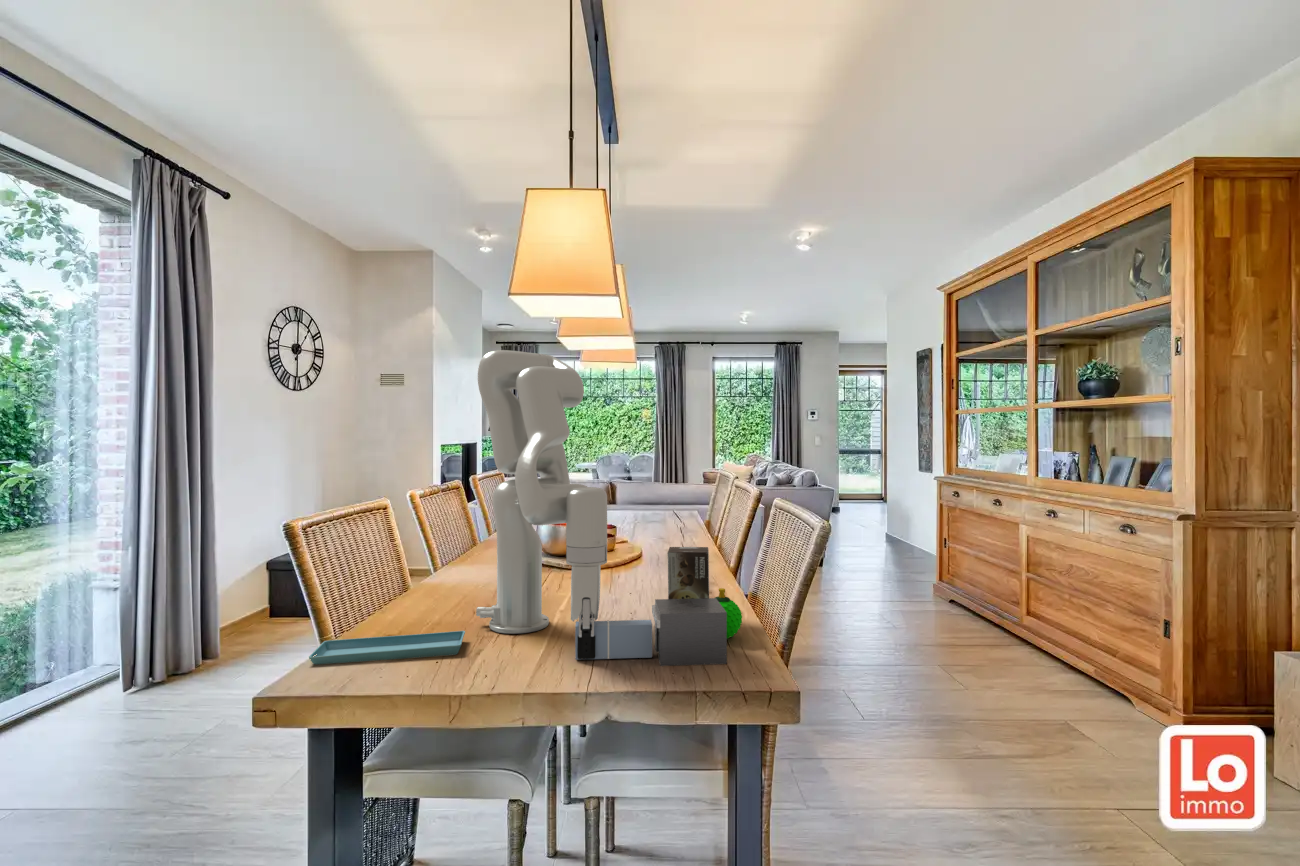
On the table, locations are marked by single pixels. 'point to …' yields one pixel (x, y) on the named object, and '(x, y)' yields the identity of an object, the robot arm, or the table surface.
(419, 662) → the table surface
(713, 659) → the dark grey box
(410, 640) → the teal serving tray
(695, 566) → the coffee box
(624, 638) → the blue-grey banded block
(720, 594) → the ornament
